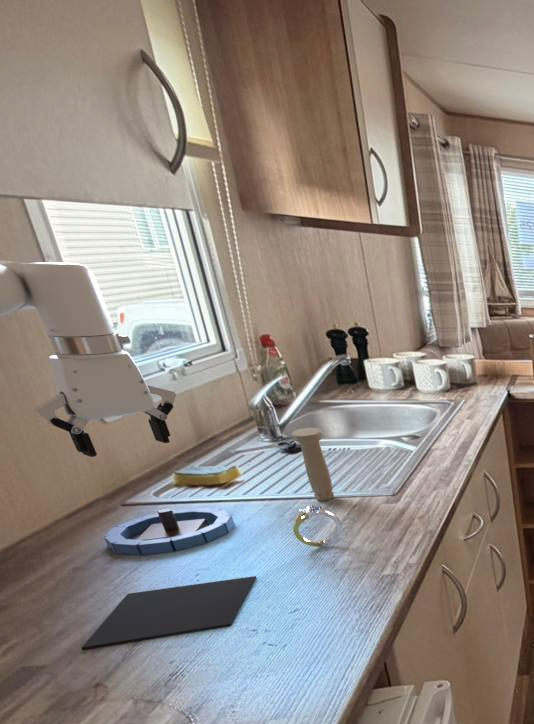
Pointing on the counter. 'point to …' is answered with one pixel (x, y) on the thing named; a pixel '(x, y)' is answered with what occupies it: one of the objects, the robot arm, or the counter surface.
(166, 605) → the mat
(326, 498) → the handle
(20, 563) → the counter surface
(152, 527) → the dowel stand
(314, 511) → the ring
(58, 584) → the counter surface
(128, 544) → the ring
